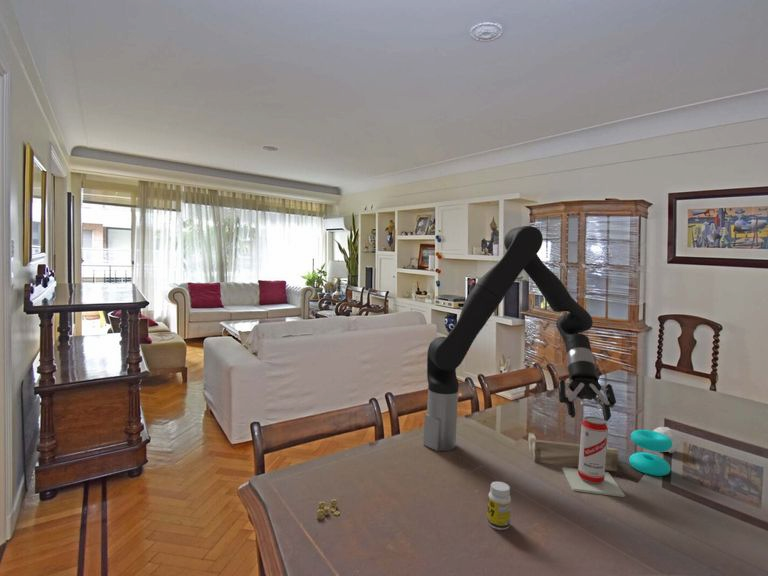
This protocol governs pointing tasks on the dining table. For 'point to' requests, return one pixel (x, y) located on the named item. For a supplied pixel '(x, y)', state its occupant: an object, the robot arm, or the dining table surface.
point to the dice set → (327, 509)
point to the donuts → (646, 460)
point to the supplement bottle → (499, 506)
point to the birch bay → (565, 453)
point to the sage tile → (603, 488)
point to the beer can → (593, 450)
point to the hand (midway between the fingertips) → (590, 418)
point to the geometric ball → (671, 435)
